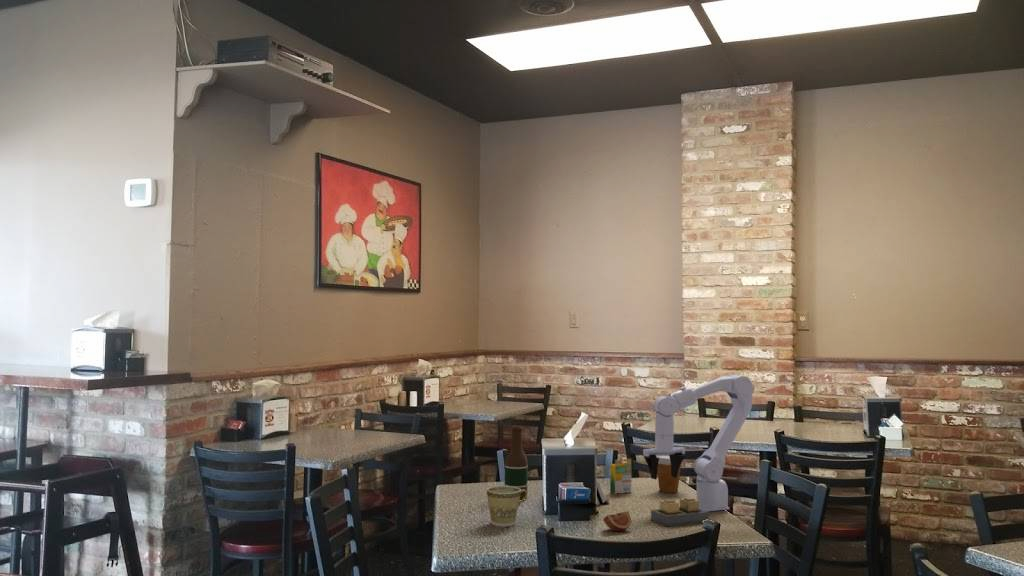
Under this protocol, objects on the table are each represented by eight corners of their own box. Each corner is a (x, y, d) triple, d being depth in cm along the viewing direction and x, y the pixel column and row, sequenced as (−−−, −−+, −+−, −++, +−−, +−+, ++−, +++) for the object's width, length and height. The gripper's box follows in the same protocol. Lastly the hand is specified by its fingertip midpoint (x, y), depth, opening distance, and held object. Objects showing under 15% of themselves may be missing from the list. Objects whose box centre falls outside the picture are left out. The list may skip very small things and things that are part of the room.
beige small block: (671, 520, 239) (671, 498, 239) (679, 523, 235) (679, 501, 235) (659, 521, 237) (660, 499, 237) (667, 524, 234) (667, 502, 234)
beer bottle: (531, 498, 265) (532, 425, 266) (519, 502, 259) (520, 428, 259) (512, 495, 269) (513, 423, 270) (499, 499, 263) (500, 426, 264)
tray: (692, 515, 244) (692, 494, 244) (708, 522, 237) (708, 500, 237) (650, 520, 238) (651, 498, 238) (666, 526, 231) (666, 504, 231)
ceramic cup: (497, 530, 225) (498, 494, 225) (479, 522, 233) (480, 487, 233) (535, 524, 232) (536, 489, 232) (517, 516, 240) (517, 483, 240)
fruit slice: (613, 535, 221) (613, 517, 221) (597, 529, 227) (597, 512, 227) (635, 531, 226) (635, 513, 226) (619, 525, 231) (619, 508, 232)
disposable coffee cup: (651, 488, 283) (651, 454, 283) (677, 487, 284) (677, 454, 284) (659, 494, 273) (659, 459, 274) (686, 493, 274) (686, 458, 275)
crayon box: (626, 490, 279) (626, 457, 279) (631, 492, 276) (632, 458, 276) (609, 492, 275) (610, 458, 275) (615, 494, 272) (615, 460, 273)
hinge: (610, 504, 258) (601, 475, 257) (598, 510, 256) (588, 481, 255) (587, 493, 274) (578, 466, 273) (575, 498, 272) (566, 471, 271)
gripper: (675, 431, 259) (675, 473, 259) (638, 434, 253) (637, 477, 253) (689, 434, 253) (688, 478, 252) (650, 437, 247) (650, 481, 246)
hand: (664, 477), depth 252 cm, fingers open, 7 cm apart
